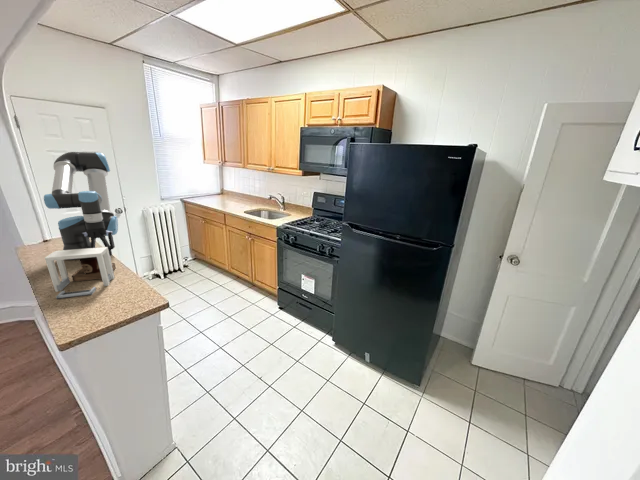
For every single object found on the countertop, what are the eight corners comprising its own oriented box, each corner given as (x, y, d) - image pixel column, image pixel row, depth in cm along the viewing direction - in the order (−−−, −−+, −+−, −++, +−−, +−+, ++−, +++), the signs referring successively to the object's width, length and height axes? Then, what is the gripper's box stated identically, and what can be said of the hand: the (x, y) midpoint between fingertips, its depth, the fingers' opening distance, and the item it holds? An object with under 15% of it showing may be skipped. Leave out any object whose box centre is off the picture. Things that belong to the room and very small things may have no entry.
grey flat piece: (62, 293, 116) (61, 290, 115) (96, 289, 120) (95, 287, 120) (56, 299, 111) (56, 296, 111) (91, 295, 116) (91, 292, 115)
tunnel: (65, 282, 125) (55, 250, 120) (114, 277, 132) (107, 246, 127) (55, 291, 117) (44, 257, 112) (108, 285, 124) (100, 253, 119)
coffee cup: (90, 281, 127) (83, 257, 123) (79, 278, 129) (72, 254, 125) (109, 274, 135) (103, 251, 131) (98, 271, 137) (92, 248, 133)
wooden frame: (90, 265, 144) (86, 248, 141) (120, 262, 149) (116, 246, 146) (73, 281, 126) (67, 262, 123) (107, 277, 131) (103, 259, 128)
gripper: (69, 223, 131) (80, 266, 138) (112, 221, 137) (120, 262, 144) (76, 220, 137) (86, 260, 145) (116, 218, 144) (124, 257, 151)
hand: (103, 261), depth 144 cm, fingers open, 5 cm apart
